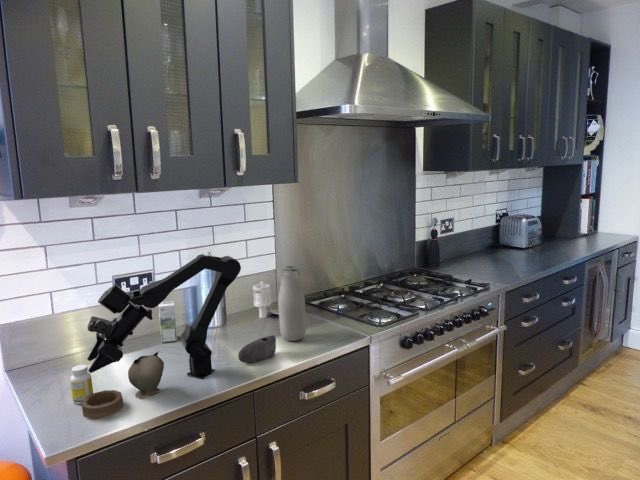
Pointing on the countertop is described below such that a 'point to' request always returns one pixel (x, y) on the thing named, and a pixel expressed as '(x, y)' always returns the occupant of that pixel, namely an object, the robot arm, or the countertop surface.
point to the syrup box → (167, 321)
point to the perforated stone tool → (258, 349)
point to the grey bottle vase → (291, 305)
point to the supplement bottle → (80, 383)
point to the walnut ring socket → (103, 410)
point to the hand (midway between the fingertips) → (89, 366)
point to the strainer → (261, 298)
